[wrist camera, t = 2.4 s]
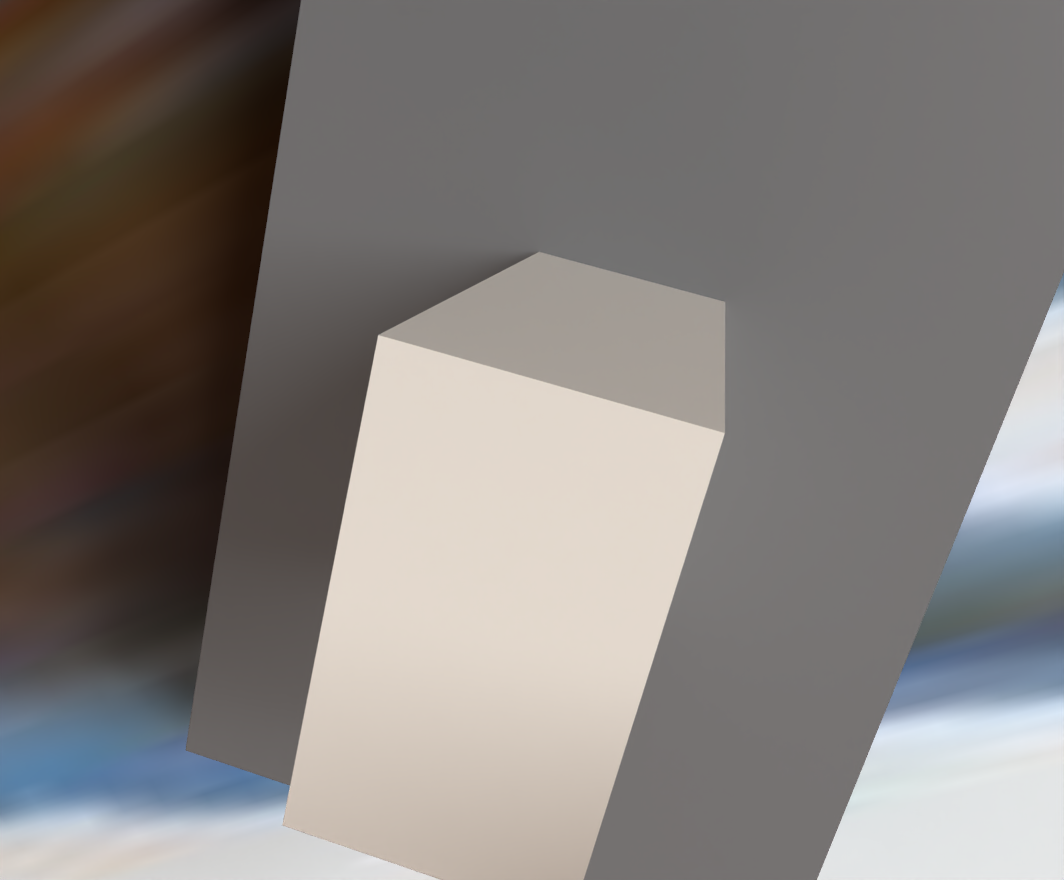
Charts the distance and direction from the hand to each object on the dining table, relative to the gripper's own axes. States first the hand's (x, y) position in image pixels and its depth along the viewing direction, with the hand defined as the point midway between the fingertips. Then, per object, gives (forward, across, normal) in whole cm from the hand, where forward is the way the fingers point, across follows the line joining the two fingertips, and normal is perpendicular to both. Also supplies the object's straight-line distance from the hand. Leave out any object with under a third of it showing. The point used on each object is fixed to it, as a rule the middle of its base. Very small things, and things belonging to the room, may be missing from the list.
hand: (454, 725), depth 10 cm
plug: (+14, 0, 0) cm, 14 cm away
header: (+14, 0, 0) cm, 14 cm away
